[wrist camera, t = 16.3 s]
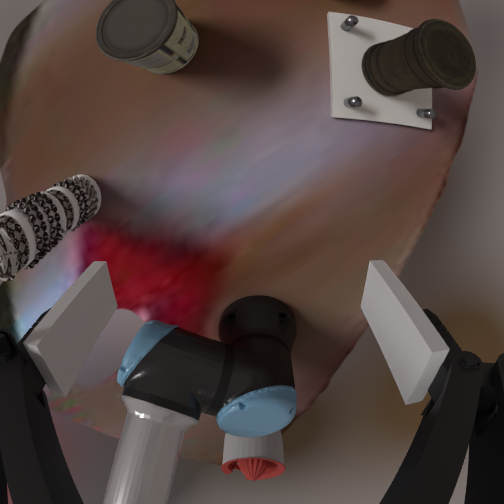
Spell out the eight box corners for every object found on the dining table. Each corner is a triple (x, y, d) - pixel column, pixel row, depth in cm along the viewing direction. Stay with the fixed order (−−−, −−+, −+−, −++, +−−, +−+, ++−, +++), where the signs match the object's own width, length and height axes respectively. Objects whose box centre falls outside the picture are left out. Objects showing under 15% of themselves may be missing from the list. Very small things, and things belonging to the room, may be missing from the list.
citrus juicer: (211, 422, 74) (204, 481, 56) (247, 395, 68) (245, 464, 50) (255, 437, 78) (255, 493, 60) (293, 414, 72) (299, 476, 54)
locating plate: (428, 129, 41) (444, 131, 36) (330, 117, 41) (339, 117, 37) (424, 34, 33) (440, 29, 29) (327, 14, 34) (335, 3, 29)
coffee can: (133, 29, 35) (92, 5, 22) (194, 11, 34) (171, -25, 21) (140, 82, 39) (99, 72, 26) (203, 65, 38) (182, 45, 25)
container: (373, 102, 39) (436, 100, 23) (350, 51, 35) (402, 20, 19) (417, 89, 37) (488, 85, 21) (396, 39, 34) (460, 14, 17)
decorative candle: (96, 228, 50) (14, 304, 27) (59, 209, 48) (-29, 270, 25) (109, 183, 46) (14, 242, 23) (69, 165, 44) (-32, 210, 22)
